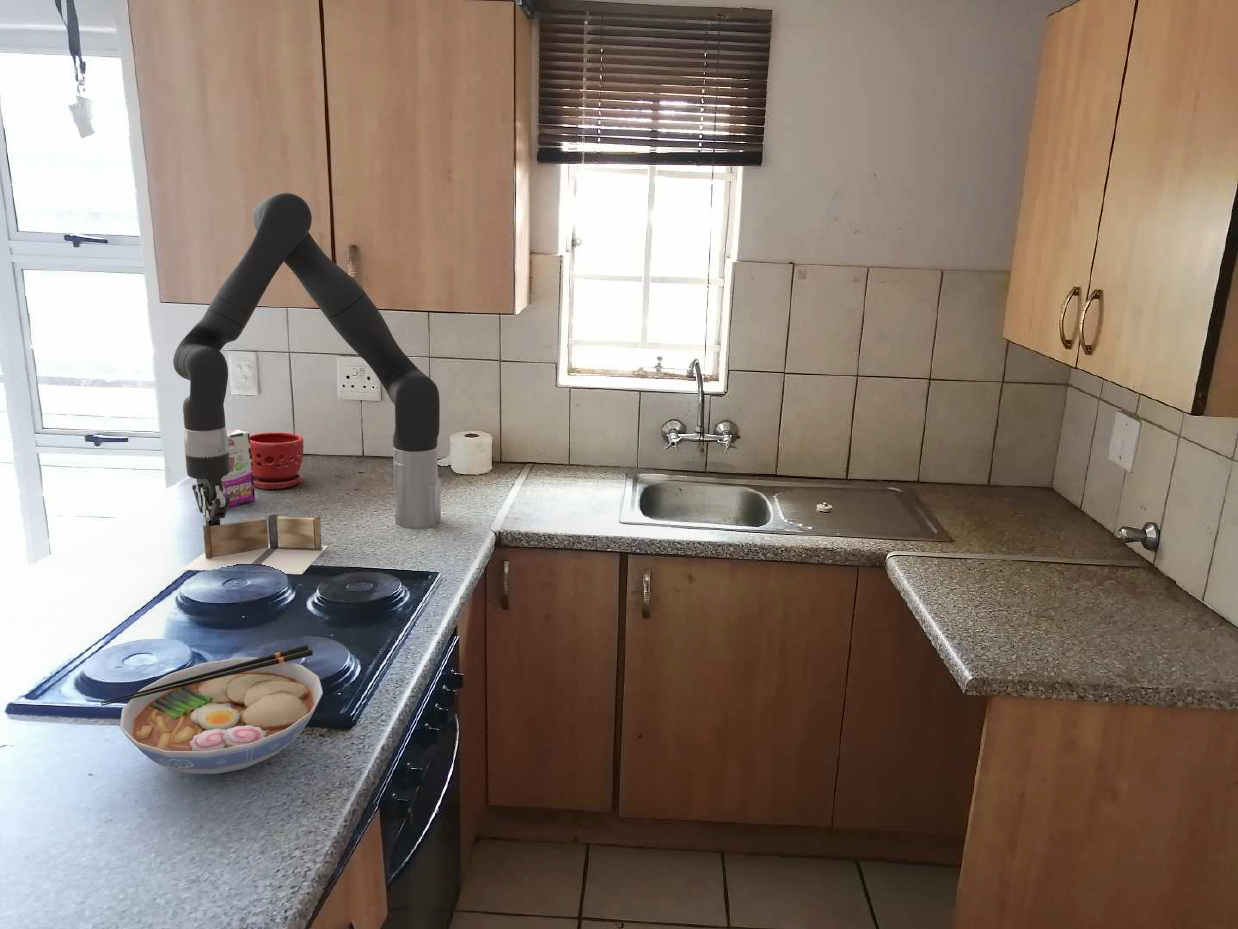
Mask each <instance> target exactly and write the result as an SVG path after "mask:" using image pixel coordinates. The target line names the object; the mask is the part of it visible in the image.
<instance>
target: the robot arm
mask: <svg viewBox="0 0 1238 929" xmlns="http://www.w3.org/2000/svg"><path fill="white" fill-rule="evenodd" d="M312 217H313V216H312V211H311V208H310V207H309V205H308V203H307V202H306V201H305V200H304V199H303V198H302V197H301V196H300V195H299V196H298V195H297V194H294V193H291V192H279V193H275V194H273V195H271V196H269V197H267V198H265V199H263V200H261V201H260V202H259V203H258V204H257V205H256V207H255V208H254V211H253V215H252V220H253V226H254V229H255V231H256V233H255V235H254V237H253V239H252V241H251V243H250V245H249V247H248V249H247V250H246V251H245V253H244V254H243V256H242V258H241V259H240V261H239V262H238V264H236V266H235V267H234V269H233V270H232V271H231V273H230V274H229V275H228V276H227V277H226V279H225V280H224V282H223V283H222V284H221V286H220V288H218V290H217V292H216V293H215V295H214V297H213V299H212V300H211V302H210V304H209V305H208V307H207V309H206V311H205V313H204V315H203V316H202V318H201V319H200V320H199V321H198V322H197V323H196V324H195V325H194V326H193V328H192V329H191V330H190V331H188V333H186V335H185V336H184V338H183V339H182V340H181V341H180V343H179V344H178V346H177V348H176V349H175V352H174V355H173V359H172V364H173V368H174V371H175V373H177V375H178V376H180V377H181V378H183V379H185V380H188V381H189V383H190V385H189V386H190V388H189V389H190V390H189V396H187V397H186V398H184V400H183V404H182V413H183V414H182V415H183V426H184V434H183V435H184V436H183V444H184V454H185V455H184V456H185V465H186V475H187V476H188V477H189V478H191V479H195V480H196V483H195V484H192V487H191V488H192V492H193V494H194V497H195V501H196V503H197V507H198V510H199V512H200V514H202V517H203V518H204V520H205V525H210V526H215V525H221V519H224V518H225V519H226V515H227V511H228V508H229V507H228V506H229V503H230V499H229V497H224V496H223V494H224V485H223V484H222V480H221V479H222V477H224V476H226V475H228V474H229V473H230V459H229V446H228V436H227V432H226V431H227V426H226V415H225V414H226V413H225V407H224V405H225V399H226V395H227V388H228V380H229V367H228V363H227V359H226V358H225V355H224V354H223V353H222V350H223V348H224V346H226V345H227V344H228V343H231V342H235V341H236V340H237V339H239V337H240V335H241V334H242V333H243V331H244V329H245V328H246V326H247V324H248V323H249V321H250V319H251V317H252V315H253V314H254V312H255V310H256V308H257V306H258V304H259V303H260V301H261V299H262V297H263V296H264V293H265V292H266V290H267V288H268V287H269V285H270V283H271V282H272V279H273V278H274V276H275V275H276V273H277V272H278V270H279V269H280V267H281V266H282V265H283V263H284V265H286V266H287V267H288V268H289V269H290V271H292V273H293V274H294V275H295V276H296V278H297V279H298V280H299V282H300V284H302V286H303V288H304V289H305V291H306V292H307V293H308V295H309V297H311V299H312V300H313V301H314V303H315V305H316V306H318V308H319V309H320V311H321V312H322V314H323V316H325V318H326V319H327V320H328V322H329V323H330V324H331V325H332V327H333V328H334V330H335V331H336V333H338V334H339V335H340V336H341V338H342V339H343V340H344V342H346V343H347V344H348V346H349V347H350V348H351V349H353V351H354V352H356V354H358V356H359V357H361V358H362V359H363V361H365V363H366V364H367V365H368V366H369V367H370V368H371V370H372V371H373V373H374V374H375V376H376V378H377V379H378V380H379V382H380V383H381V385H382V386H383V388H384V390H385V391H386V393H387V395H388V396H389V399H390V400H391V402H392V404H393V405H394V421H395V422H394V433H393V435H392V449H393V450H392V451H393V452H392V453H393V488H394V490H393V492H394V517H395V518H394V519H395V520H394V521H395V524H396V526H398V527H400V528H404V529H411V530H412V529H413V530H414V529H415V530H416V529H417V530H418V529H427V528H430V529H435V528H437V526H438V524H439V523H440V521H441V519H442V517H441V516H442V515H441V514H442V513H441V507H442V506H441V478H439V473H438V471H439V470H438V469H439V468H438V464H439V463H438V438H439V435H440V419H441V418H440V412H441V411H440V410H441V408H440V406H441V404H440V402H441V401H440V392H439V389H438V386H437V384H436V383H435V381H434V380H433V379H431V378H430V377H429V376H427V375H426V374H425V373H424V372H423V371H422V370H420V369H419V367H417V366H416V364H414V363H413V361H412V360H411V359H410V358H409V357H408V355H407V354H406V353H405V352H404V351H403V350H402V348H400V346H399V344H398V343H397V341H396V340H395V338H394V336H393V334H392V332H391V330H390V328H389V325H388V324H387V323H386V321H385V319H384V317H383V315H382V313H381V312H380V310H379V309H378V308H377V306H376V305H375V303H374V302H373V300H371V298H370V296H368V294H367V293H366V291H365V290H364V288H362V287H361V285H360V284H359V283H358V282H357V281H356V280H355V279H354V278H353V277H352V276H351V275H349V274H348V273H347V272H346V271H345V270H344V269H342V268H341V267H340V266H339V265H338V264H336V262H334V261H333V260H332V259H331V258H330V257H328V255H327V254H326V253H324V251H323V250H322V249H321V248H320V246H319V245H318V243H317V242H316V241H315V239H314V238H313V236H312V235H311V233H310V229H311V227H312V221H313V218H312Z"/></svg>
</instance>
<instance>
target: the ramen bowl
mask: <svg viewBox="0 0 1238 929" xmlns="http://www.w3.org/2000/svg"><path fill="white" fill-rule="evenodd" d="M311 656H314V654H313V650H312V649H309V645H308V644H303V645H299V646H295V647H291V648H289V649H286V650H282V651H279V652H277V653H272V654H268V655H264V656H261V657H235V658H228V659H221V660H215V661H209V662H202V663H199V664H197V665H192V666H190V667H188V668H184V669H181V670H177V671H174V672H171V673H169V674H167V675H165V676H162V677H160V678H159V679H158V680H155V681H154V682H152V683H150V684H148V685H146V686H144V687H143V688H141V689H139V690H138V691H136V692H133V693H130V694H126V695H122V696H119V697H116V698H112V699H108V700H104V701H101V702H100V706H101V707H103V706H107V705H110V704H111V705H112V704H116V703H120V702H124V701H128V700H129V701H128V702H127V703H126V704H125V705H124V706H123V707H122V709H121V715H120V722H119V729H120V730H121V731H122V733H123V734H124V735H125V737H127V739H128V740H129V741H130V742H131V743H132V744H133V745H134V746H135V747H136V748H137V749H138V750H139V751H140V752H141V753H142V754H144V756H146V757H147V758H149V760H151V762H154V763H156V764H158V765H159V766H161V767H165V768H167V769H171V770H173V771H178V772H181V773H185V774H190V775H191V774H198V775H199V774H201V775H203V774H205V775H210V774H211V775H215V774H216V775H218V774H223V773H228V772H233V771H238V770H239V771H240V770H243V769H244V770H245V769H246V768H248V767H249V768H250V767H251V766H253V765H256V764H258V763H261V762H263V761H265V760H268V759H270V758H272V757H274V756H276V755H277V754H278V753H279V752H281V751H282V750H283V749H285V748H286V747H288V746H289V745H290V744H292V742H294V741H295V740H296V739H297V738H298V737H299V736H300V734H302V732H303V731H304V729H305V727H307V725H308V723H309V722H310V721H311V718H312V716H313V715H314V712H315V711H316V708H317V707H318V704H319V702H320V701H321V699H322V696H323V695H324V691H323V687H322V683H321V678H320V676H318V674H316V673H314V672H313V671H311V670H310V669H309V668H307V667H306V666H304V665H302V664H301V663H296V662H291V661H295V660H298V659H303V658H308V657H311Z"/></svg>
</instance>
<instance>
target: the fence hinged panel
mask: <svg viewBox="0 0 1238 929" xmlns="http://www.w3.org/2000/svg"><path fill="white" fill-rule="evenodd" d="M202 532H203V540H204V552H205V555H206V559H210V558H215V557H220V556H226V555H232V554H237V553H243V552H249V551H254V550H260V549H266V548H269V544H270V543H269V529H268V518H266V517H262V518H260V517H259V518H254V519H247V520H242V521H236V522H228V523H223V524H221V523H220V525H215V526H210V525H206V524H204V525H203V526H202Z"/></svg>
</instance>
